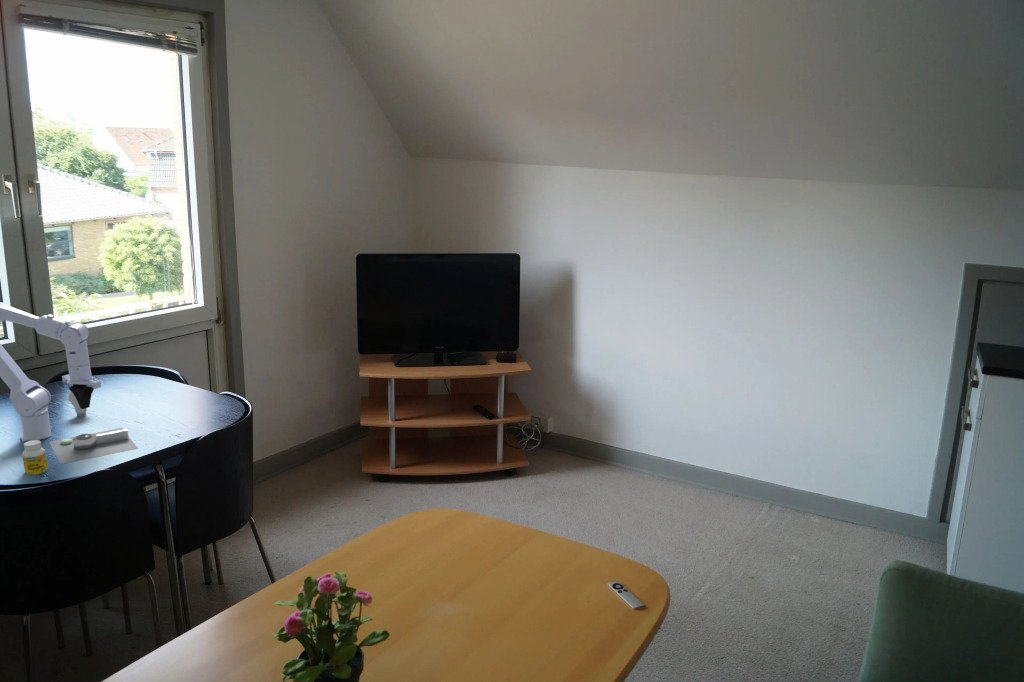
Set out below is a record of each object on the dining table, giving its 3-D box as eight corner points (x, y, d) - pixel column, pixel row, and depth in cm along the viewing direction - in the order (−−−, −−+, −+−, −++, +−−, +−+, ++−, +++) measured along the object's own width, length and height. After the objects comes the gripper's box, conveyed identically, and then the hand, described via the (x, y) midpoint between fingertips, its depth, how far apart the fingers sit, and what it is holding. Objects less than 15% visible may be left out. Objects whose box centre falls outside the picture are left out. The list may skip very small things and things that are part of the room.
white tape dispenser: (76, 451, 228) (74, 441, 227) (72, 444, 233) (70, 435, 232) (130, 440, 237) (129, 431, 236) (125, 434, 241) (124, 425, 240)
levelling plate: (49, 446, 235) (48, 439, 235) (122, 432, 247) (121, 425, 247) (61, 469, 220) (60, 461, 220) (138, 453, 232) (137, 445, 231)
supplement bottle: (47, 470, 219) (43, 437, 217) (49, 477, 215) (44, 444, 213) (25, 474, 217) (20, 441, 214) (26, 481, 212) (21, 448, 210)
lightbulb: (95, 419, 257) (91, 387, 254) (75, 424, 253) (71, 391, 250) (88, 415, 261) (84, 383, 258) (68, 419, 257) (64, 387, 254)
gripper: (50, 364, 234) (56, 408, 238) (82, 371, 228) (89, 415, 231) (72, 358, 240) (78, 401, 244) (104, 364, 234) (110, 408, 238)
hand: (85, 407), depth 238 cm, fingers closed
